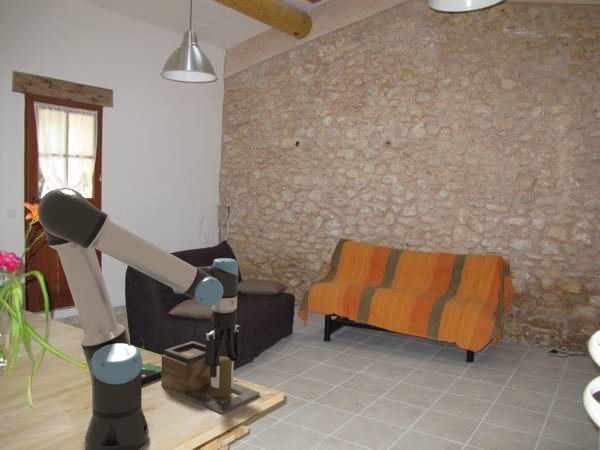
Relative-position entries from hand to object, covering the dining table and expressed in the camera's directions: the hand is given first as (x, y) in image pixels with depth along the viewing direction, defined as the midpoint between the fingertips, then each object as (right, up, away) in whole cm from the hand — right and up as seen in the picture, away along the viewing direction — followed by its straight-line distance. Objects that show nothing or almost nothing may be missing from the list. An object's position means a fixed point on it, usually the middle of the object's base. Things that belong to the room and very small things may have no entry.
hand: (222, 383), depth 150 cm
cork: (0, -3, 0) cm, 3 cm away
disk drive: (-29, -3, +13) cm, 32 cm away
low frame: (0, -4, +1) cm, 4 cm away
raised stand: (-12, -3, +10) cm, 15 cm away
